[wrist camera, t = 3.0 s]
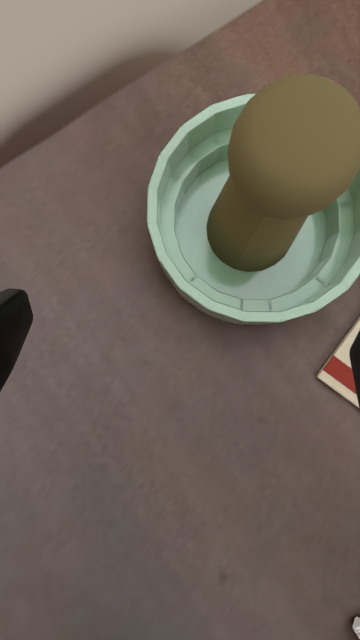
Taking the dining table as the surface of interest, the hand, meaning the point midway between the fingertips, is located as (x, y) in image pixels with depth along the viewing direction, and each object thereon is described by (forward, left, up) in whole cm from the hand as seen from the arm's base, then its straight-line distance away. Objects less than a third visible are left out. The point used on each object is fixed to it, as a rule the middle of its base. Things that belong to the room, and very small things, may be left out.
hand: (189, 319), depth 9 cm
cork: (+1, -8, -13) cm, 16 cm away
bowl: (+1, -8, -14) cm, 16 cm away
